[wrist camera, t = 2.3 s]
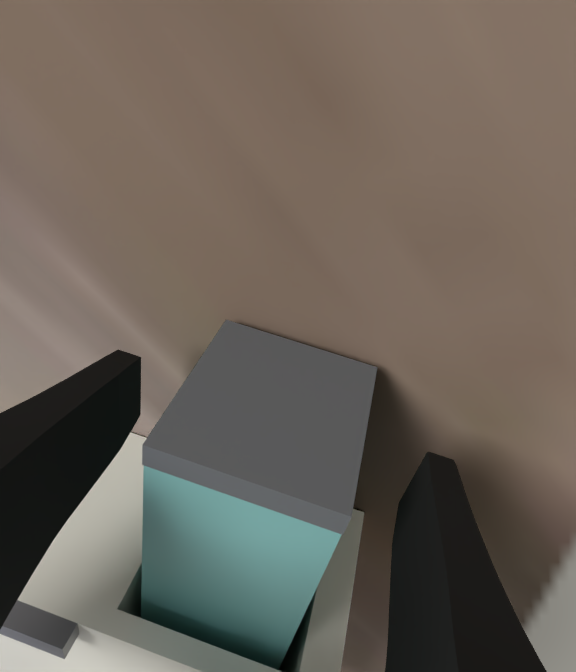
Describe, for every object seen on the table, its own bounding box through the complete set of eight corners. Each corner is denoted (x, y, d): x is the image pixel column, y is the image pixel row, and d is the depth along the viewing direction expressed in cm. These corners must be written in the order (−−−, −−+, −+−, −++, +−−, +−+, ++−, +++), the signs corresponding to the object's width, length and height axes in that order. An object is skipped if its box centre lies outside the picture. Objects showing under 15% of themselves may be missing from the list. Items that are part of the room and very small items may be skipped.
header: (311, 619, 21) (268, 821, 16) (87, 536, 22) (-22, 702, 17) (364, 512, 16) (328, 753, 11) (74, 412, 17) (-85, 591, 12)
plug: (292, 580, 19) (258, 714, 15) (194, 544, 19) (139, 668, 16) (377, 367, 12) (351, 517, 9) (225, 319, 13) (142, 444, 9)
